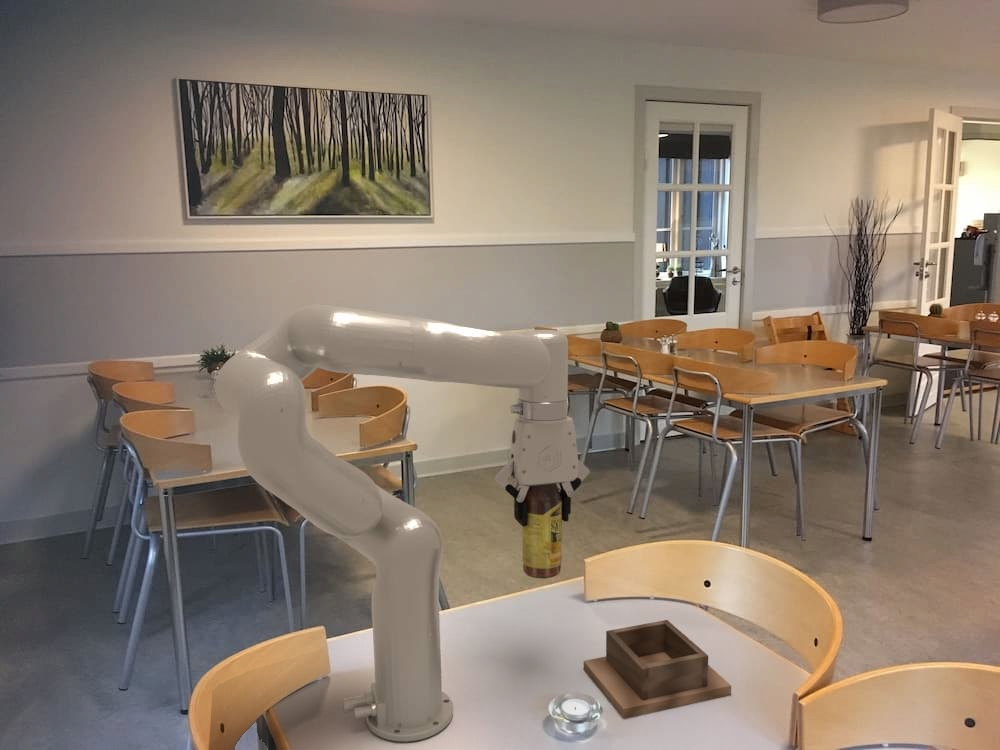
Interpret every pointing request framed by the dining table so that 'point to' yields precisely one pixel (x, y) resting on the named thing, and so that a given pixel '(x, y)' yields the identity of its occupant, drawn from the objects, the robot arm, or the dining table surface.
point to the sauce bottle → (543, 532)
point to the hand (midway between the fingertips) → (542, 520)
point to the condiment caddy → (653, 670)
